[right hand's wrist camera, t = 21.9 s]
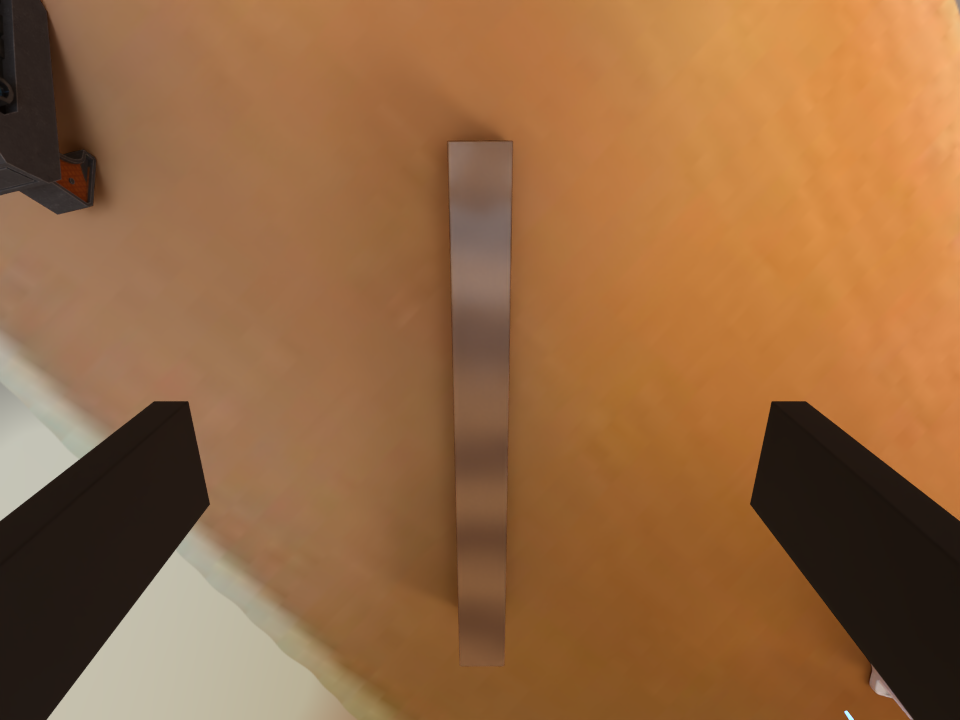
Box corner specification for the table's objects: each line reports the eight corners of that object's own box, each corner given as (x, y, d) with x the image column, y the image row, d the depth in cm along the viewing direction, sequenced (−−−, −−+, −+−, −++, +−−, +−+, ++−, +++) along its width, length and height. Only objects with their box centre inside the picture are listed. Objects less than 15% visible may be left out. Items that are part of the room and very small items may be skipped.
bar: (452, 141, 48) (447, 141, 40) (507, 141, 48) (513, 140, 40) (461, 608, 67) (459, 666, 59) (501, 608, 67) (504, 666, 59)
